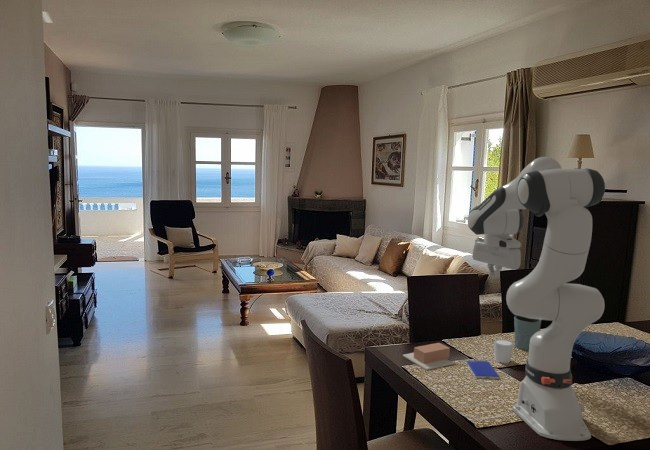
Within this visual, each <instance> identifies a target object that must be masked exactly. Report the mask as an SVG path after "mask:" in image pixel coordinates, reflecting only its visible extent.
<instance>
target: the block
mask: <svg viewBox="0 0 650 450" xmlns="http://www.w3.org/2000/svg"><path fill="white" fill-rule="evenodd" d="M450 350H451V348H450V347H448V346H447V345H446V344H443V343H441V342H436V343H430V344H426V345H425V344H424V345H420V346H419V345H418V346H415V347H414V348H413V353H414V358H415V359H417V360H419V361H420V362H422V363H424V364H425V363H430V362H434V361H439V360H444V359H448V360H449V359H450V355H451V354H450V352H451V351H450Z"/></svg>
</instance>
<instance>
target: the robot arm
mask: <svg viewBox="0 0 650 450" xmlns="http://www.w3.org/2000/svg"><path fill="white" fill-rule="evenodd" d="M605 191H606V183H605V179H604V177H603V175H602V174H601V173H600V172H599V171H597V170H595V169H591V168H586V167H579V168H578V167H577V168H576V167H575V168H562V165H561V164H560V162H559V161H557V160H556V159H554V158H552V157H549V156H540V157H536V158H534V159H533V160H532V161H531V162H530V163H528V164H527V165H525V167H524V168H523V169H522V170H521V172H520V173H519V174H518V175H517V177H515V178H514V179H513V180H511V181H509V182H508V183H507V184H504V185H502V186H500V187H499V188H496V189H495V190H494V191H492V193H490V194H489V195H488V196H487V197H485V199H484V200H483V201H482V202H481V203H480V204H478V205H476V206H474V207H473V208H472V209H471V210H470V211H469V213H468V215H467V216H468V217H467V226H468V228H469V229H470V231H472V232H473V234H475V235H476V236H477V235H484V237H482V236H479V237H477V238H476V239H475V240H474V244H473V250H472V259H473V260H474V261H476V262H480V263H485V264H487V268H488V271H489V276H490V277H494V278H499V277H500V272H501V270H502V269H503V268H504V269H509V270H518V269H519V268H520V266H521V262H522V259H521V258H522V253H521V249H520V248H521V247H522V243H521V241H519V240H518V239H516V238H514V237H513V236H511V235H517V234H519V233H520V232H521V231H522V230H523V228H524V223H525V218H524V217H525V216H524V214H523V213H522V211H521V210H528V211H530V212H532V213H533V214H534V216H535V217H542V216H544V214H545V216H546V218H547V226H546V230H545V235H544V239H543V244H542V250H541V253H540V256H539V261H538V262H537V264H536V266H535V267H534V268H533V270H532V271H531V272H529V274H528V275H526V276H524V277H523V278H521V279H519V280H517V281H514V282H513V283H512V284H511V285H509V288H507V291H506V295H505V296H506V297H505V300H506V305H507V308H508V309H509V310H510V312H511V314H513V315H514V316H516V315H518V316H521V317H525V318H529V319H540V320H541V321H552V322H551V324H550V325H548V326H547V327H545V328H544V329H540V331H538V332H536V333H535V334H534V335H533V336H532V337H531V339H530V344H529V351H528V360H527V361H526V364H525V373H524V374H525V377H524V378H523V380H521V381H520V383H519V388H518V392H517V393H518V394H517V401H516V403H515V404H513V405H512V408H511V410H512V411H513V412H514V413H515V414H516V415H517V417H519V418H520V419H522V420H523V421H524V422H525V423H526V425H528V426H529V428H531V429H532V431H534V432H535V433H536V434H538V436H540V437H543V438H547V439H551V440H552V439H553V440H557V441H569V442H570V441H571V442H579V441H582V442H583V441H587V440H590V439H591V438H592V433H591V432H590V429H589V428H588V426H587V425H586V423H585V421H584V420H583V413H585V405H584V404H583V403H579V400H578V393H576V392H575V391H574V389H573V386H572V385H573V375H572V369H571V361H572V360H571V359H572V353H573V348H574V345H575V342H576V340H577V338H578V337H579V336H580V334H581V333H582V332H583V331H584V329H586V328H587V327H588V326H590V325H592V324H593V323H595V322H597V321H598V320H600V319H601V317H602V316H603V314H604V311H605V307H606V306H605V299H604V297H603V295H602V293H601V292H600V290H599V289H598V288H596V287H592V286H588V285H585V284H584V285H583V284H581V283H570V282H572V281H575V280H576V279H577V278H579V277H580V276H581V275H582V274H583V272H584V271H585V268H586V264H587V259H588V255H589V251H590V247H591V243H592V236H593V235H592V233H593V216H592V213H591V212H590V210H589V209H587V208H588V207H592V206H595V205H597V204H599V203H600V202H601V201H602V200H603V197H604V195H605Z"/></svg>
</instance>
